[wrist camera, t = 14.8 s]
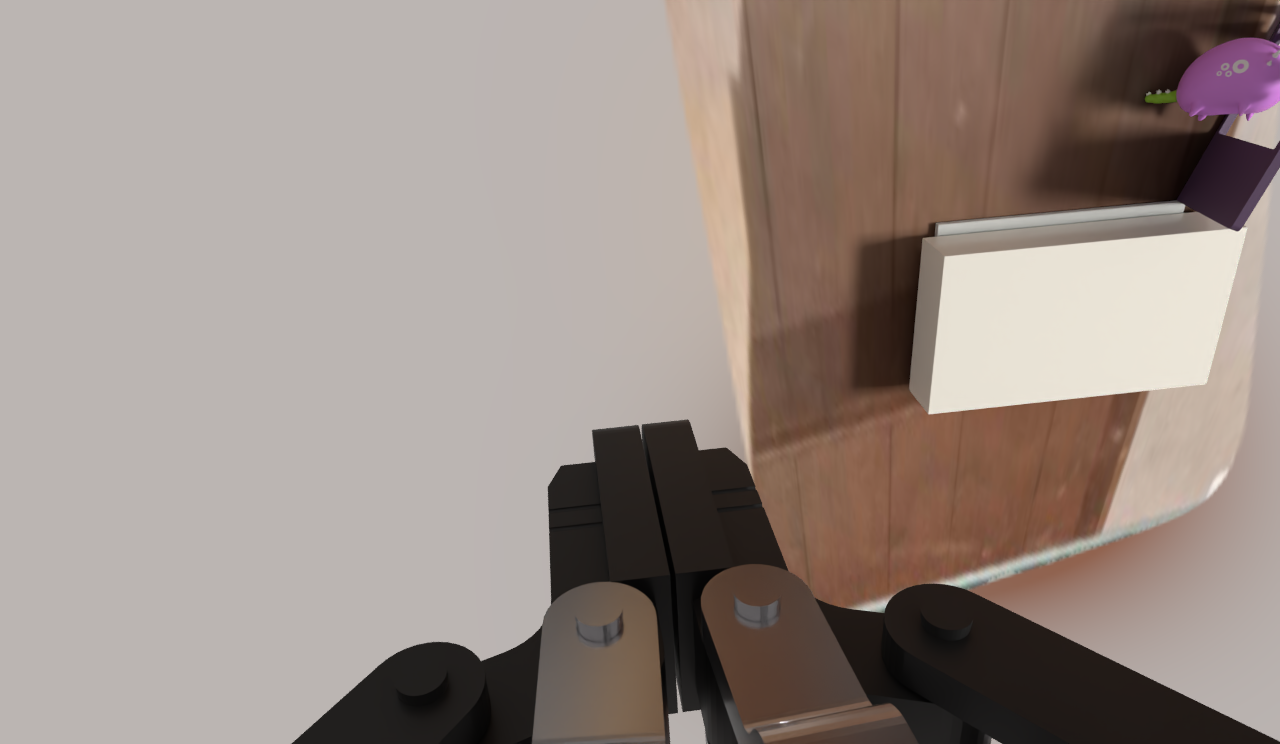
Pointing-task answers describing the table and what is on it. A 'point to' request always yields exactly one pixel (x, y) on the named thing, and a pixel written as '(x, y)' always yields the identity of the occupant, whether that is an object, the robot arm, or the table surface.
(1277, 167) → the purple frame
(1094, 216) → the mat
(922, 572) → the table surface
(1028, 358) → the off-white rectangular block
